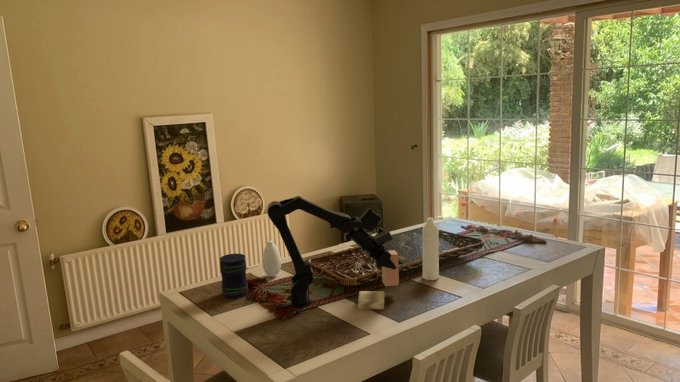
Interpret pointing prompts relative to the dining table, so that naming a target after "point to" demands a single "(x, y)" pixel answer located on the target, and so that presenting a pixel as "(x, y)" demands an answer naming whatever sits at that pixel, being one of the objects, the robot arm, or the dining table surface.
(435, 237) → the water bottle
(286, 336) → the dining table surface
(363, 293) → the birch plinth
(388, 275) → the terracotta post
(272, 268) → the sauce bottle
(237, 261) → the storage jar
